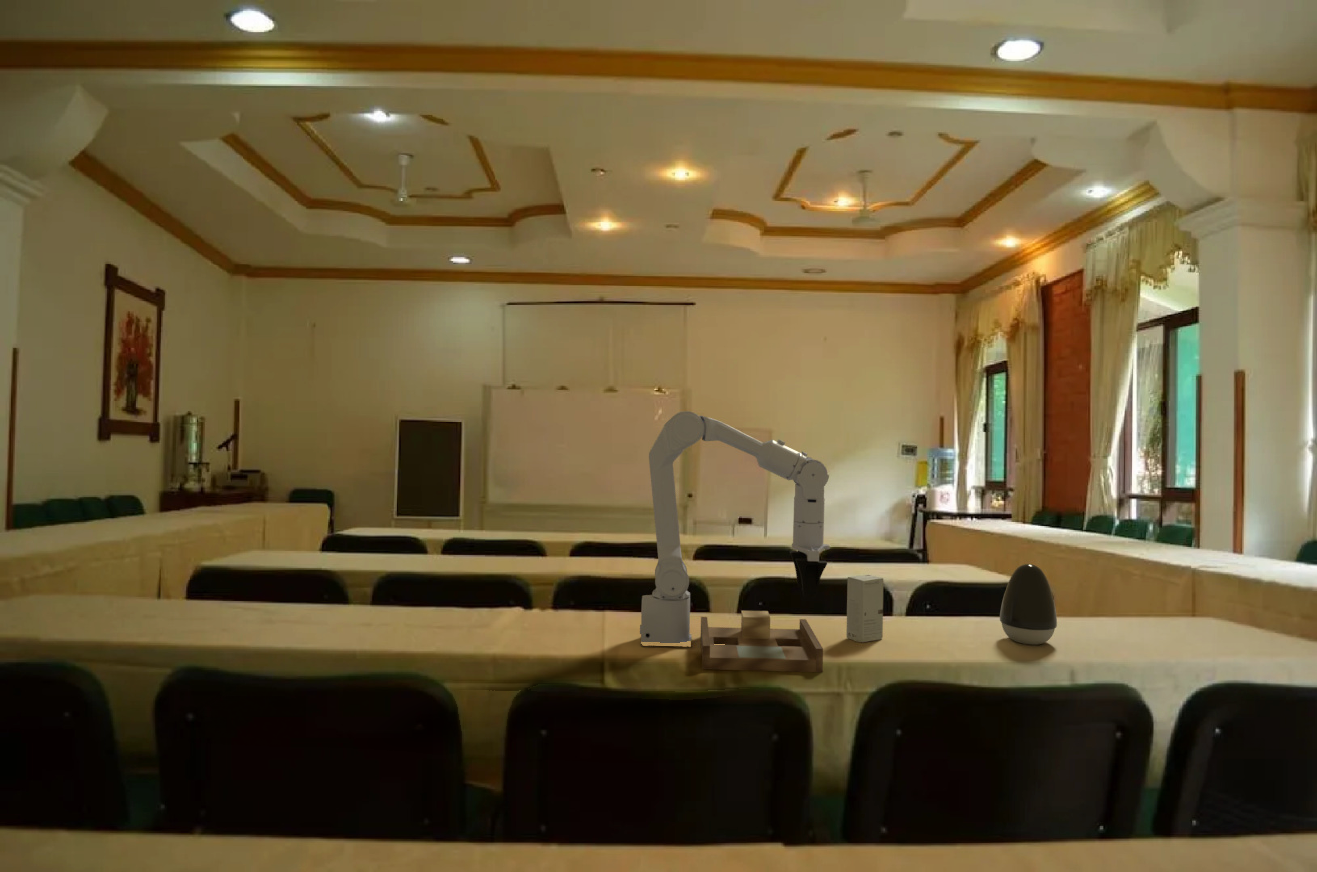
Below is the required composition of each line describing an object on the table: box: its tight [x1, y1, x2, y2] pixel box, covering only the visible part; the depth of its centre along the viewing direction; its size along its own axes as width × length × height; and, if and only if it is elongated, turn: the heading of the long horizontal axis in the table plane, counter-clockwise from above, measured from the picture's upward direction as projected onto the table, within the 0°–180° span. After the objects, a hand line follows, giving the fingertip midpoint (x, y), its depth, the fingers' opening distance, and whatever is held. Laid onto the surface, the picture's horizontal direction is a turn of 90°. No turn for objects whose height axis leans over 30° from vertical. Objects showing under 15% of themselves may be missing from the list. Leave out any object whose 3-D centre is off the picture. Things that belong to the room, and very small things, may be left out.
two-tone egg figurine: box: [999, 563, 1058, 646], centre depth 160 cm, size 10×10×15 cm
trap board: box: [700, 616, 824, 673], centre depth 149 cm, size 20×20×4 cm
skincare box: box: [846, 574, 884, 643], centre depth 160 cm, size 6×4×12 cm
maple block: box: [740, 610, 771, 639], centre depth 154 cm, size 5×5×4 cm
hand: (806, 592), depth 155 cm, fingers open, 7 cm apart
